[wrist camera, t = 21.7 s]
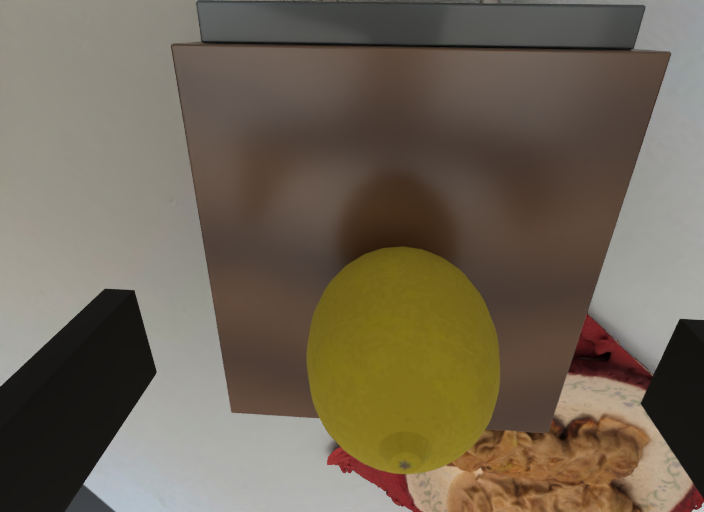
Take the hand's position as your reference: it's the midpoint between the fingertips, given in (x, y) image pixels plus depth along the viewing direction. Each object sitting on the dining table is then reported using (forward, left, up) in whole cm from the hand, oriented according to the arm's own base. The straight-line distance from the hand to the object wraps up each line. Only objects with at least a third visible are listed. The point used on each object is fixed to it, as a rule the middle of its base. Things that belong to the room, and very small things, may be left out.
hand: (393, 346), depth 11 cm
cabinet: (+1, +1, -16) cm, 16 cm away
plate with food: (+10, +26, -17) cm, 32 cm away
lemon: (+1, +1, -6) cm, 6 cm away
